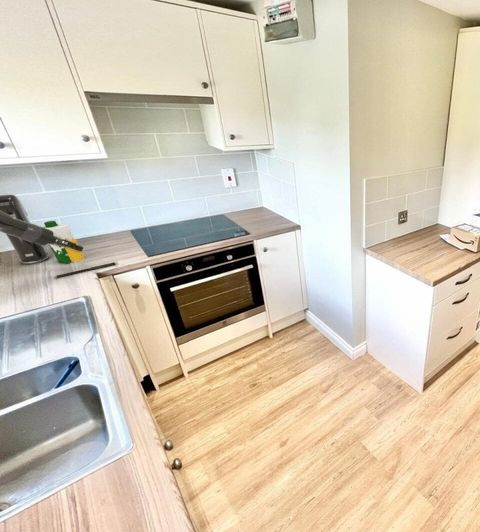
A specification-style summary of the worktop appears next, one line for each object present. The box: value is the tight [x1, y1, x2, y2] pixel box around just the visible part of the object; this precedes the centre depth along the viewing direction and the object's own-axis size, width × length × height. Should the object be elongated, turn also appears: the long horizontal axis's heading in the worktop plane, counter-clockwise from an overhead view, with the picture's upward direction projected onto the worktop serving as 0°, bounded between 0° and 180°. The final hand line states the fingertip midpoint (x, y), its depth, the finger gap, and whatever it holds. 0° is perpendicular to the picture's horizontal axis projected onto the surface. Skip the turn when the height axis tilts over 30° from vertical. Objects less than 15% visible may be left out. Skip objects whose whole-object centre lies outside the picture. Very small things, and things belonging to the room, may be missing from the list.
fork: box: [56, 261, 116, 279], centre depth 155 cm, size 3×21×1 cm, turn 133°
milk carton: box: [42, 220, 75, 264], centre depth 160 cm, size 9×9×20 cm
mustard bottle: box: [65, 237, 86, 263], centre depth 152 cm, size 5×5×12 cm
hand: (78, 248), depth 154 cm, fingers closed on mustard bottle, 5 cm apart
